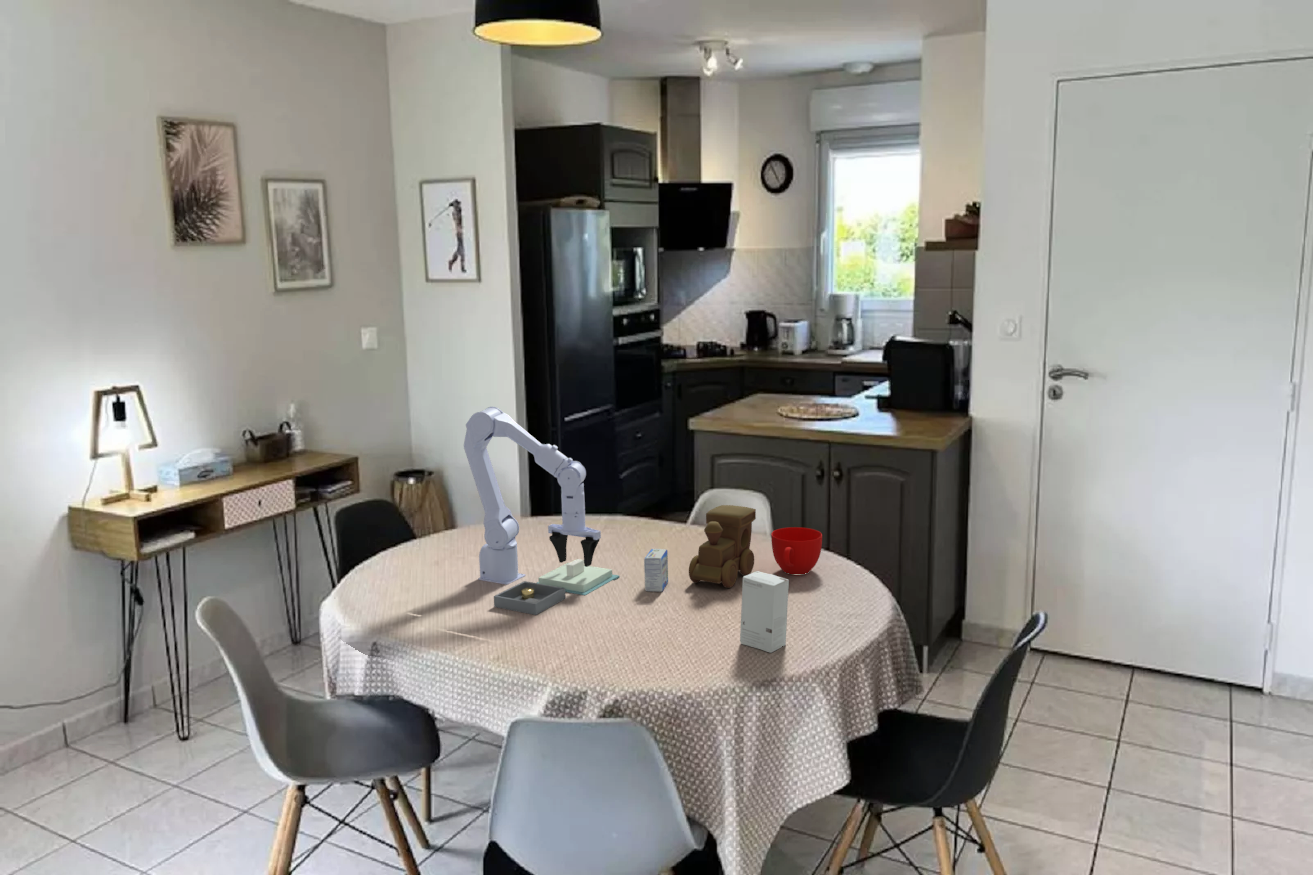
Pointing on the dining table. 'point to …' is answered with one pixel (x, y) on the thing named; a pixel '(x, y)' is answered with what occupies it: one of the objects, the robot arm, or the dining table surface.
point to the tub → (543, 593)
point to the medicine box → (656, 570)
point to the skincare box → (764, 611)
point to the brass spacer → (527, 593)
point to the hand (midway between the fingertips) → (575, 563)
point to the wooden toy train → (725, 546)
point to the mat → (594, 586)
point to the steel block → (532, 600)
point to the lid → (576, 576)
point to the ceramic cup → (796, 549)
